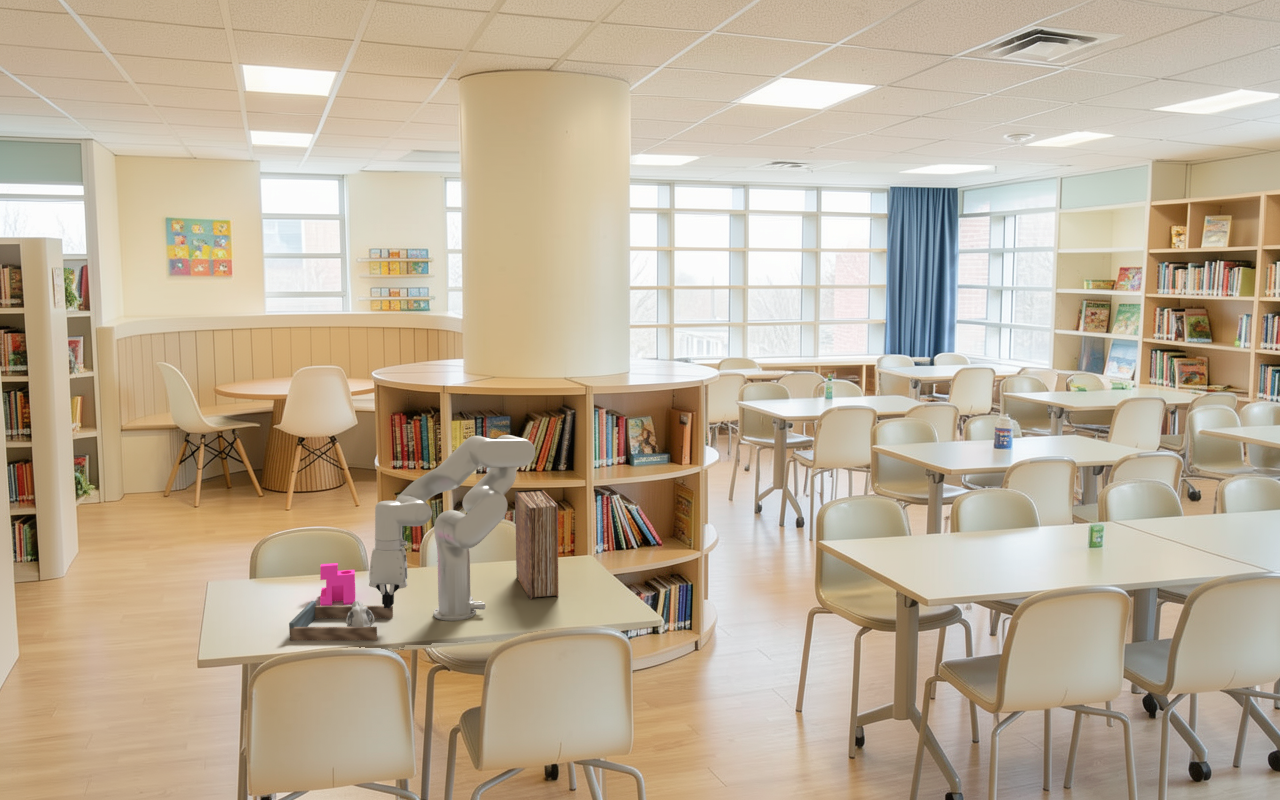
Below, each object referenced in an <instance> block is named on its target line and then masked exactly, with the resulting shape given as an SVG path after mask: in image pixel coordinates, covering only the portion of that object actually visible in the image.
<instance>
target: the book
mask: <svg viewBox="0 0 1280 800" xmlns="http://www.w3.org/2000/svg"><path fill="white" fill-rule="evenodd" d="M514 504H515V505H514V506H515V507H514V508H515V514H514V515H515V516H514V517H515V554H516V555H515V556H516V558H515V560H516V561H515V564H516V565H515V567H516V579H517V580H518V582H519V584H520V585H521V587H522V589H523V591H524V592H525V594H526V595H527V597H528V598H529V600H530V601H531V600H532V599H533V598H541V597H542V598H543V597H544V598H545V597H553V596H556V597H557V598H558V597H559V513H558V512H559V507H558V503H556V502H555V500H554V499H553V498H552V497H550V496H549V495H548V493H546V492H545V490H543V489H528V490H516V491H515V490H514Z"/></svg>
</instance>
